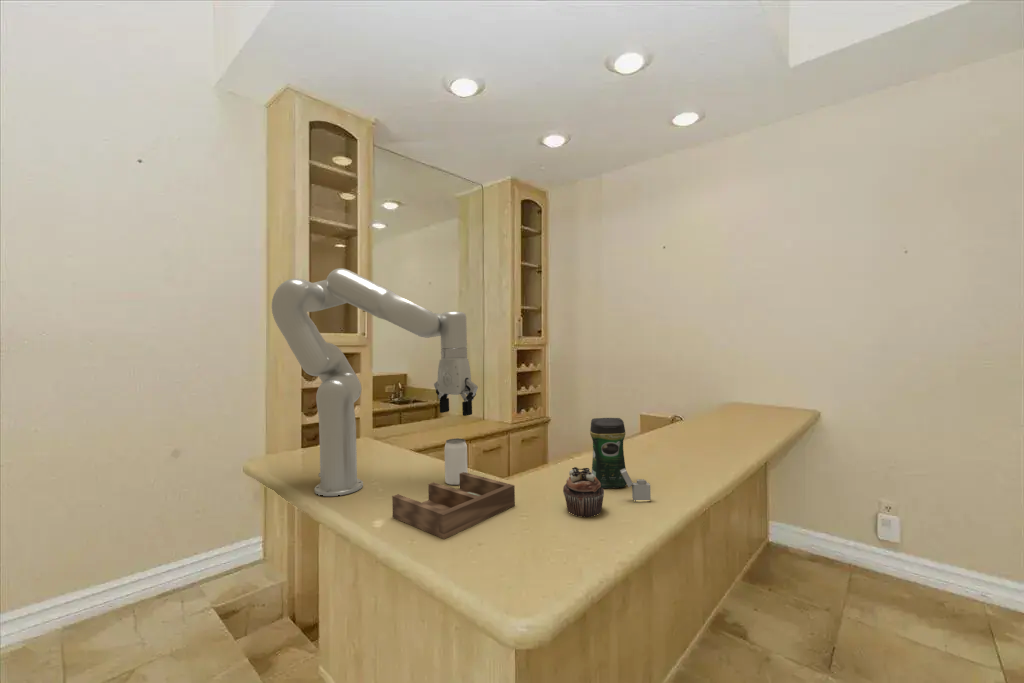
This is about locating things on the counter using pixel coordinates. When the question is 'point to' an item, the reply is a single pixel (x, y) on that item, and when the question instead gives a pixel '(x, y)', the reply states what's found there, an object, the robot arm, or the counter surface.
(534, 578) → the counter surface
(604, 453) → the coffee jar
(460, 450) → the can
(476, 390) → the robot arm
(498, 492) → the tray
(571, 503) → the cupcake
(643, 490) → the lighter
